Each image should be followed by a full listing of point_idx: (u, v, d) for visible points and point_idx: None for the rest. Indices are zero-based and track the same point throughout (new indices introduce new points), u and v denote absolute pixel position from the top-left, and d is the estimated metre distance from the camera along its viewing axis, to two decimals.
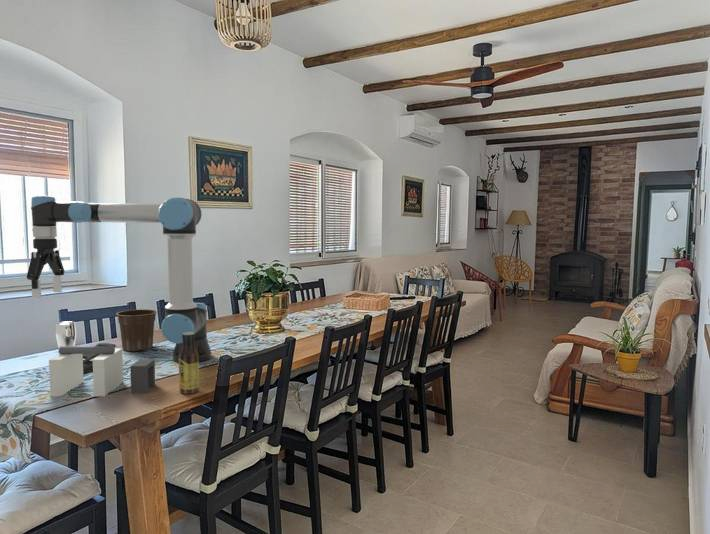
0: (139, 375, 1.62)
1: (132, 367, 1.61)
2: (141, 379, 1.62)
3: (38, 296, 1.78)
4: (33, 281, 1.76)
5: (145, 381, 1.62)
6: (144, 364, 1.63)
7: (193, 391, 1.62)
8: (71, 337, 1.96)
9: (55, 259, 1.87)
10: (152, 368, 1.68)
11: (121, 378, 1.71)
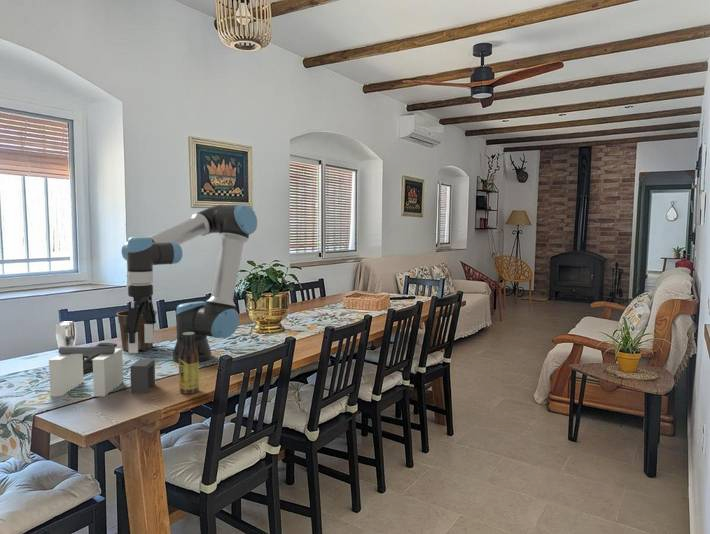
0: (139, 375, 1.62)
1: (132, 367, 1.61)
2: (141, 379, 1.62)
3: (135, 351, 1.57)
4: (131, 335, 1.56)
5: (145, 381, 1.62)
6: (144, 364, 1.63)
7: (193, 391, 1.62)
8: (71, 337, 1.96)
9: (149, 307, 1.67)
10: (152, 368, 1.68)
11: (121, 378, 1.71)
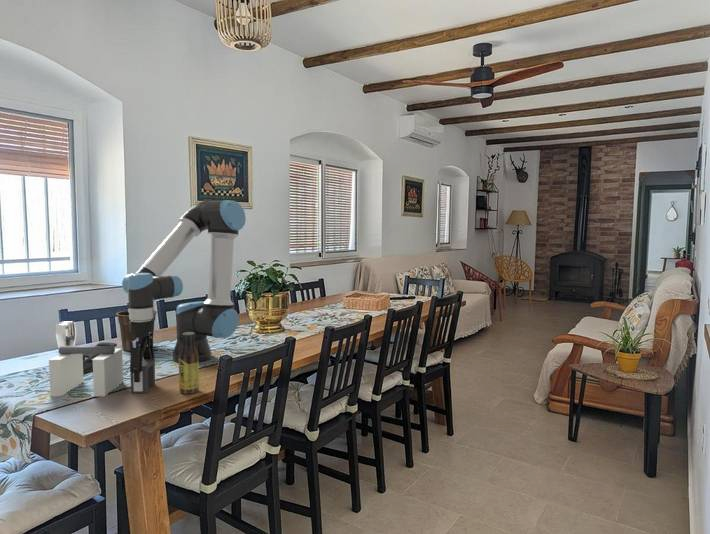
0: None
1: None
2: None
3: (140, 390, 1.61)
4: (136, 374, 1.60)
5: (145, 381, 1.62)
6: (144, 364, 1.63)
7: (193, 391, 1.62)
8: (71, 337, 1.96)
9: (150, 343, 1.67)
10: (152, 368, 1.68)
11: (121, 378, 1.71)
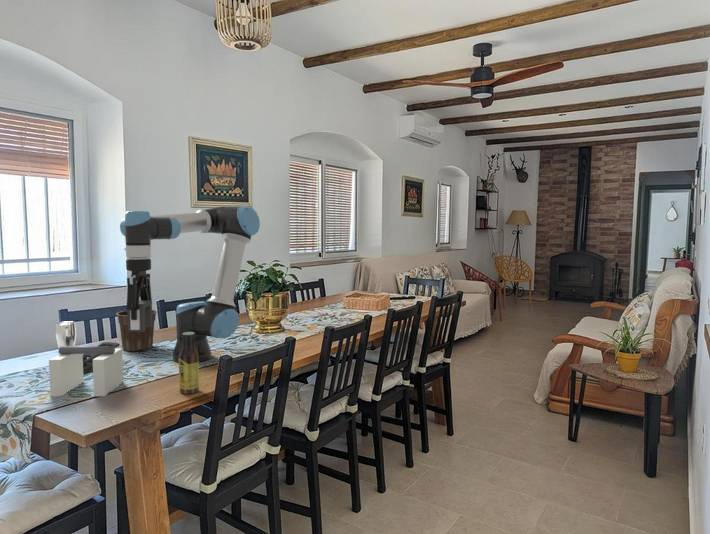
0: None
1: None
2: None
3: (137, 328, 1.59)
4: (133, 311, 1.58)
5: (142, 319, 1.60)
6: (141, 303, 1.61)
7: (193, 391, 1.62)
8: (71, 337, 1.96)
9: (147, 283, 1.66)
10: (149, 309, 1.66)
11: (121, 378, 1.71)
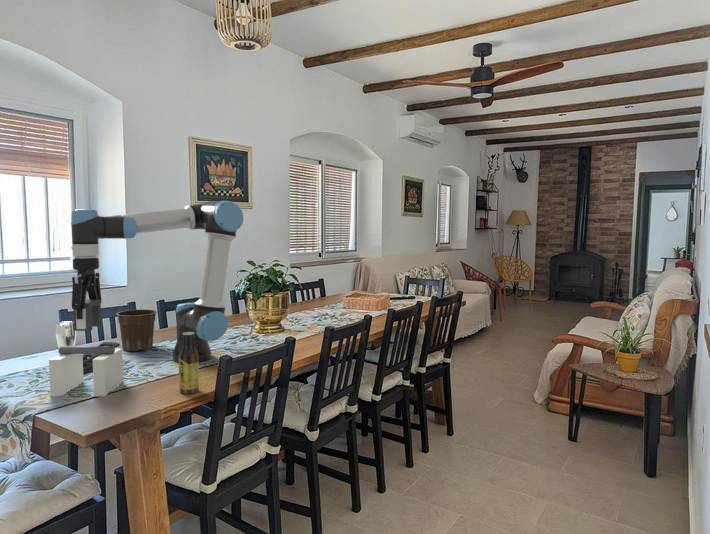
0: None
1: None
2: None
3: (83, 327, 1.58)
4: (78, 311, 1.57)
5: (88, 319, 1.59)
6: (88, 302, 1.60)
7: (193, 391, 1.62)
8: (71, 337, 1.96)
9: (95, 282, 1.65)
10: (97, 308, 1.65)
11: (121, 378, 1.71)
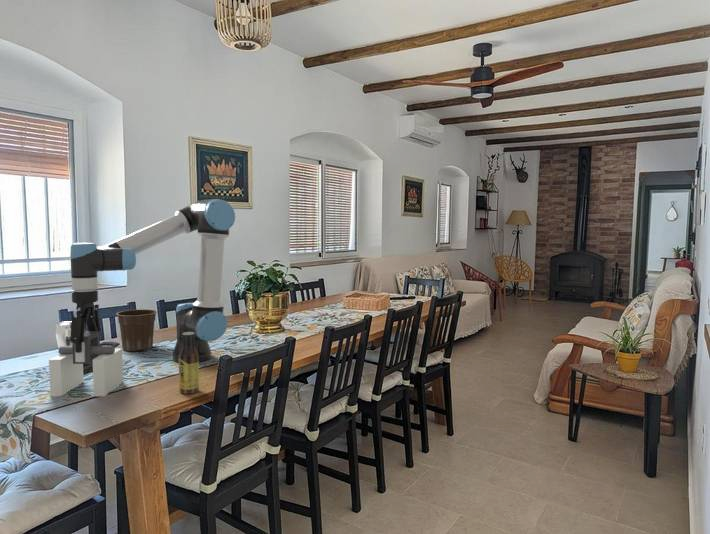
0: None
1: None
2: None
3: (82, 360, 1.59)
4: (77, 344, 1.58)
5: (87, 352, 1.60)
6: (87, 335, 1.61)
7: (193, 391, 1.62)
8: None
9: (94, 314, 1.66)
10: (96, 340, 1.66)
11: (121, 378, 1.71)
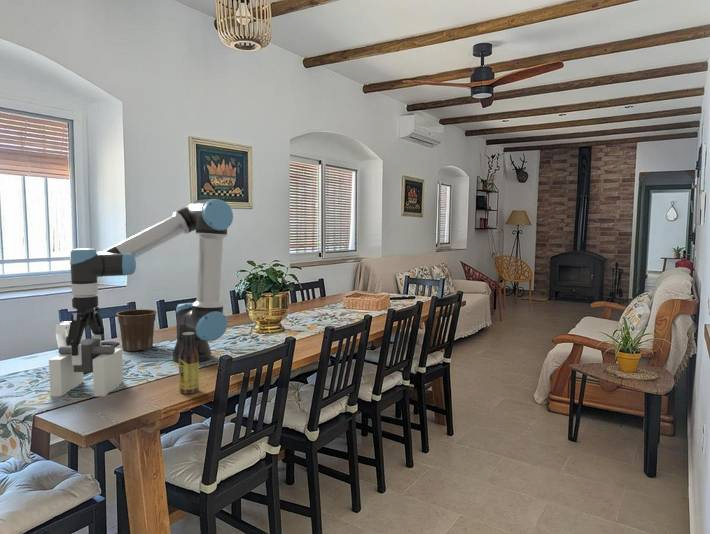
0: (82, 354, 1.60)
1: None
2: (84, 358, 1.60)
3: (78, 363, 1.57)
4: (73, 347, 1.55)
5: (88, 360, 1.60)
6: (87, 343, 1.62)
7: (193, 391, 1.62)
8: None
9: (95, 318, 1.66)
10: None
11: (121, 378, 1.71)
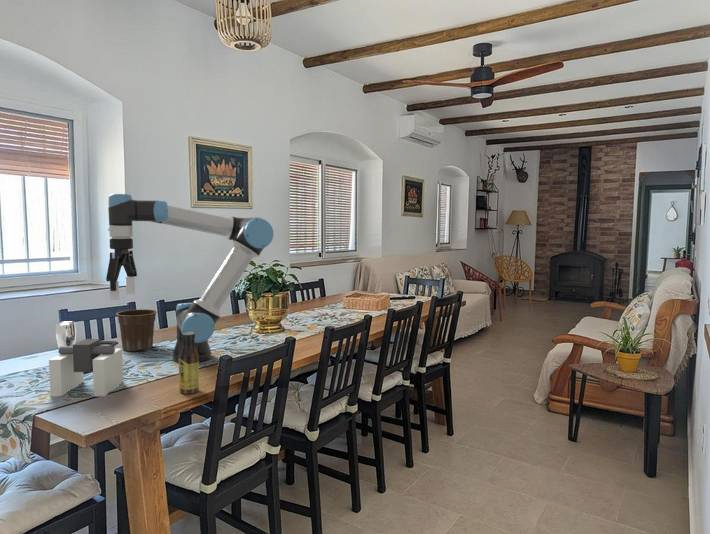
0: (82, 354, 1.60)
1: (74, 346, 1.60)
2: (84, 358, 1.60)
3: (116, 298, 1.71)
4: (112, 283, 1.69)
5: (88, 360, 1.60)
6: (87, 343, 1.62)
7: (193, 391, 1.62)
8: (71, 337, 1.96)
9: (130, 260, 1.80)
10: None
11: (121, 378, 1.71)
